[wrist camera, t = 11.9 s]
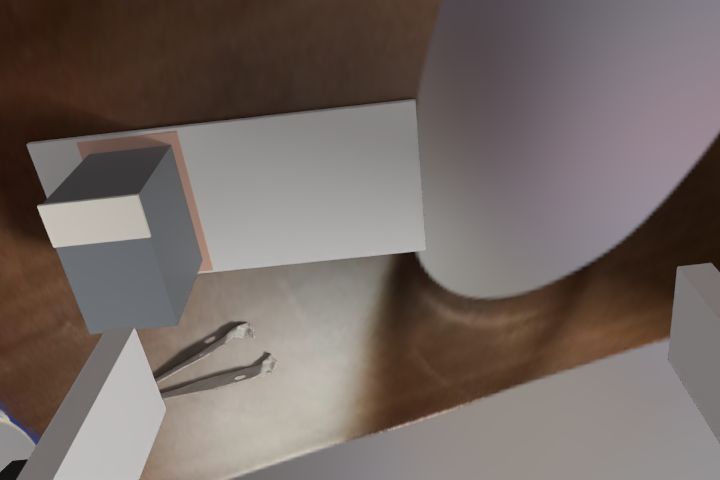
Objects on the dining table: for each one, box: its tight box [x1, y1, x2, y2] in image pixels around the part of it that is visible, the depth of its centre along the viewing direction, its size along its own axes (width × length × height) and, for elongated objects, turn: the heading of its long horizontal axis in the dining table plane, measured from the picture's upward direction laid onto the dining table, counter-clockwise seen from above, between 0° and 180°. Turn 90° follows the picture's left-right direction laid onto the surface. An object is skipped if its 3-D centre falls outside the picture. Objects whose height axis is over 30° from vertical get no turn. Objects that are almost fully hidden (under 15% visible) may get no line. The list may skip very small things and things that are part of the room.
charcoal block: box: [37, 145, 203, 334], centre depth 37 cm, size 8×5×7 cm, turn 6°
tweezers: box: [155, 323, 277, 400], centre depth 48 cm, size 17×5×2 cm, turn 117°
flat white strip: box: [26, 99, 426, 274], centre depth 40 cm, size 23×10×1 cm, turn 96°
